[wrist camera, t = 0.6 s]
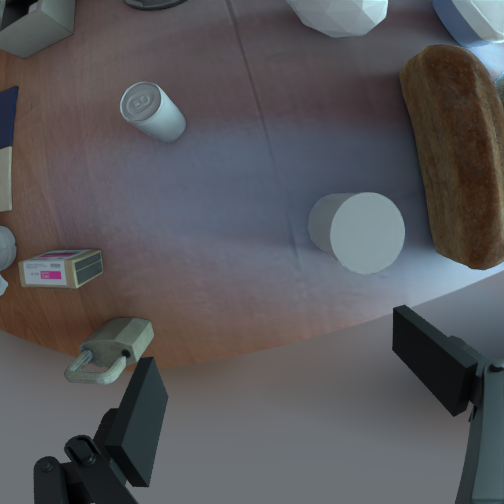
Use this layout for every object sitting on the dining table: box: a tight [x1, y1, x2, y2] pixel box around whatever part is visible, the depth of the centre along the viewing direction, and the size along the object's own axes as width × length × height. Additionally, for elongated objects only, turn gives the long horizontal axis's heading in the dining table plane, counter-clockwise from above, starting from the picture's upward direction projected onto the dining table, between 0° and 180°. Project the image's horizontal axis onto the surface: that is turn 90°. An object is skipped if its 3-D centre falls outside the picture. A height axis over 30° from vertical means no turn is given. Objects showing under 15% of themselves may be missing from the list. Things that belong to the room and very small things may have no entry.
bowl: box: [432, 0, 504, 47], centre depth 29 cm, size 15×15×11 cm
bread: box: [400, 44, 504, 270], centre depth 33 cm, size 12×31×14 cm, turn 12°
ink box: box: [18, 249, 103, 289], centre depth 38 cm, size 10×4×8 cm, turn 91°
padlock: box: [64, 317, 154, 385], centre depth 36 cm, size 4×8×15 cm, turn 97°
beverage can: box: [120, 81, 186, 143], centre depth 33 cm, size 5×5×12 cm
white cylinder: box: [308, 192, 405, 275], centre depth 35 cm, size 8×8×12 cm
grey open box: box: [0, 0, 76, 59], centre depth 29 cm, size 12×14×12 cm
